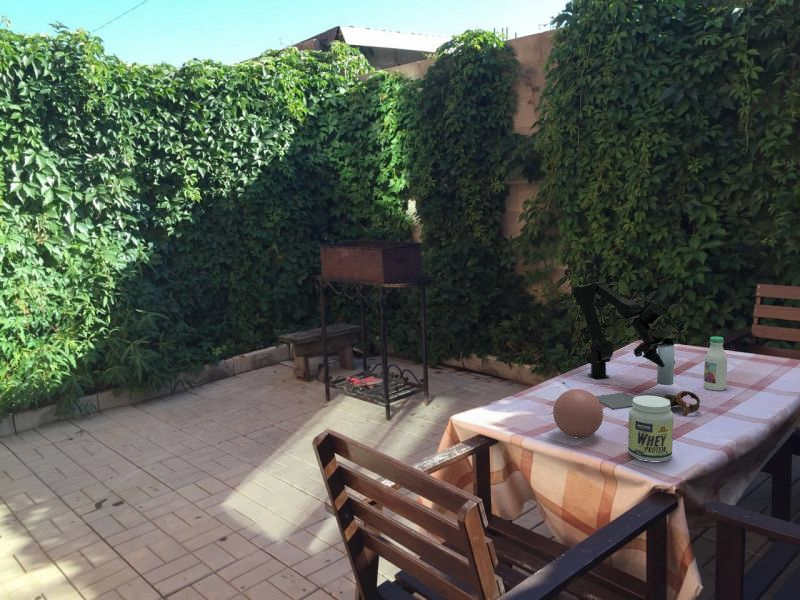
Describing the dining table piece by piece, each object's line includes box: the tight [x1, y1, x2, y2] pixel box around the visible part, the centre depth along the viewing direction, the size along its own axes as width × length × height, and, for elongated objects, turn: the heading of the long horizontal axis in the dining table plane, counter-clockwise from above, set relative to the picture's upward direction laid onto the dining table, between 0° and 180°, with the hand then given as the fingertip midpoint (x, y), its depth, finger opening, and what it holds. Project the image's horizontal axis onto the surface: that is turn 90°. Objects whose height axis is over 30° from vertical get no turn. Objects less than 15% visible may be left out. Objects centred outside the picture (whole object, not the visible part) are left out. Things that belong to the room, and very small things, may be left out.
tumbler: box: [656, 345, 675, 386], centre depth 238 cm, size 6×6×14 cm
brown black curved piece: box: [662, 390, 701, 417], centre depth 224 cm, size 12×10×8 cm
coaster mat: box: [594, 392, 636, 410], centre depth 237 cm, size 14×14×1 cm
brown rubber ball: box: [552, 388, 604, 439], centre depth 207 cm, size 15×20×15 cm
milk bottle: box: [703, 336, 728, 392], centre depth 245 cm, size 8×8×20 cm
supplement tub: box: [627, 395, 674, 462], centre depth 188 cm, size 12×12×17 cm
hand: (668, 365), depth 237 cm, fingers closed on tumbler, 6 cm apart
